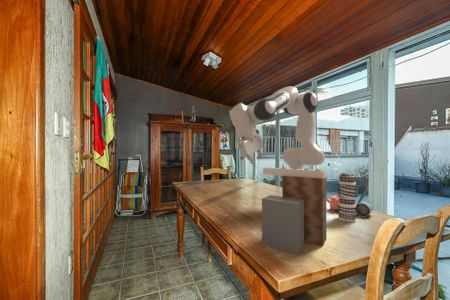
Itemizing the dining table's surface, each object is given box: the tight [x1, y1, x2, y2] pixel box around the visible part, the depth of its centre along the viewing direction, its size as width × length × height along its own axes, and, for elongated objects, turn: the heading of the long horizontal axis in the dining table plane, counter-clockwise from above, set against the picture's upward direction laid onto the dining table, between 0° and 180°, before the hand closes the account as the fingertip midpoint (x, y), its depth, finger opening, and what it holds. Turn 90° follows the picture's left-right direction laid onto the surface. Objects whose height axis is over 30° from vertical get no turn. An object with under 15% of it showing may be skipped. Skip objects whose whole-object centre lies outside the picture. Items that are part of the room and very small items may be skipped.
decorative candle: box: [337, 172, 358, 223], centre depth 111 cm, size 9×9×25 cm
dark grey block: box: [261, 194, 305, 255], centre depth 81 cm, size 14×8×18 cm, turn 54°
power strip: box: [262, 166, 327, 179], centre depth 90 cm, size 26×4×4 cm, turn 54°
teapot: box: [326, 194, 340, 212], centre depth 128 cm, size 12×12×10 cm
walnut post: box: [281, 176, 327, 247], centre depth 87 cm, size 16×8×26 cm, turn 54°
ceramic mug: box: [355, 201, 373, 218], centre depth 119 cm, size 11×8×8 cm
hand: (257, 160), depth 103 cm, fingers open, 8 cm apart
